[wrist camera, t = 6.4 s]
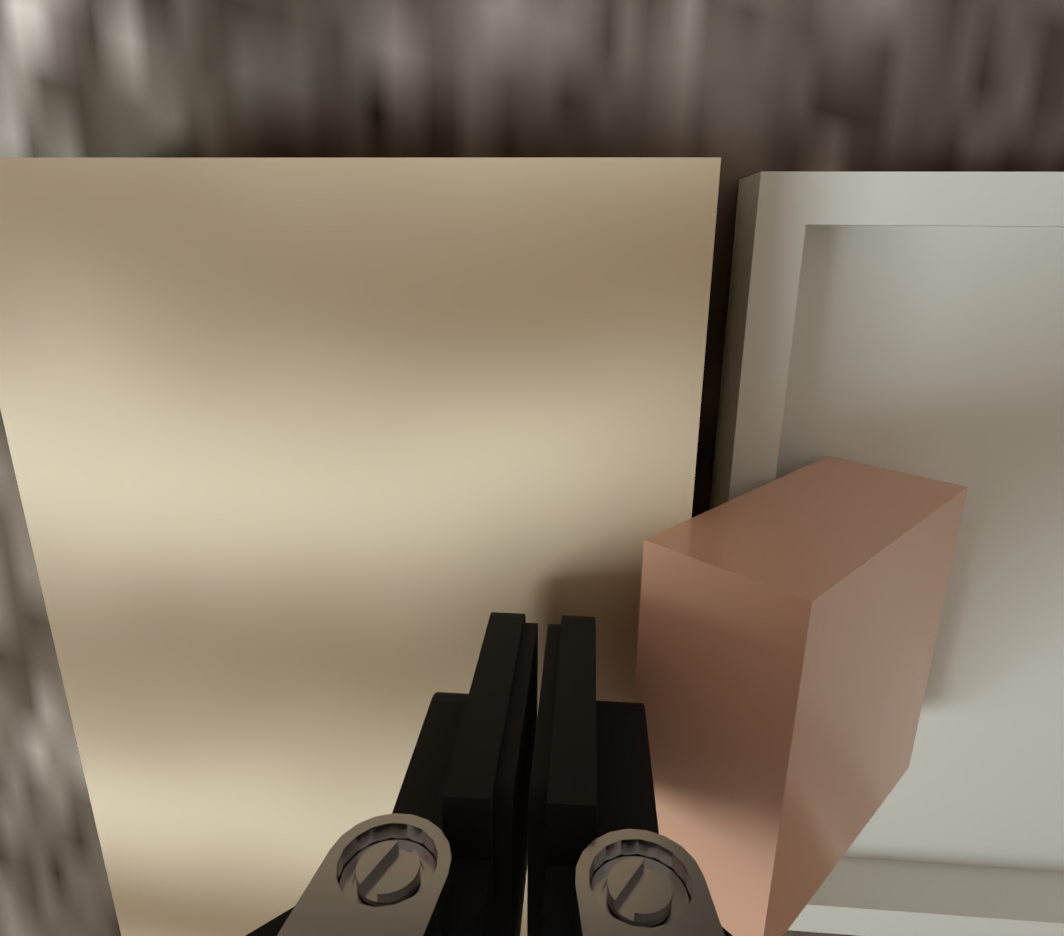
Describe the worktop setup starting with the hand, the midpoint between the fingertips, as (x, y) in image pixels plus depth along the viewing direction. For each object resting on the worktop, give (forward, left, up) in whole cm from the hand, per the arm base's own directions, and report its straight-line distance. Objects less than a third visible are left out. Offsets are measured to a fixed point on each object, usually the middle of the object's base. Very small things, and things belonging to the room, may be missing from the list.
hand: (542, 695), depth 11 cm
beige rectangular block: (0, +3, -5) cm, 6 cm away
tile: (0, -3, -2) cm, 4 cm away
